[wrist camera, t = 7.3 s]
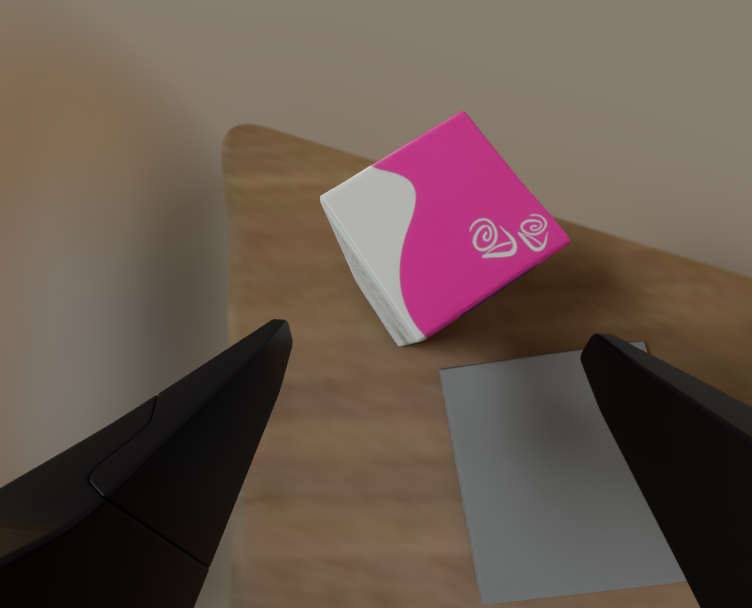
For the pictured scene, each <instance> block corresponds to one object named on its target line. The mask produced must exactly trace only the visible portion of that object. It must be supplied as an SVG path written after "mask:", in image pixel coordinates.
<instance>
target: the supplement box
mask: <svg viewBox="0 0 752 608" xmlns="http://www.w3.org/2000/svg"><path fill="white" fill-rule="evenodd" d="M320 201H321V204H322V207H323V209H324V211H325V213H326V215H327V218H328V220H329V222H330V224H331V226H332V229H333V231H334V233H335V235H336V238H337V240H338V242H339V244H340V247H341V249H342V251H343V253H344V256H345V258H346V260H347V263H348V265H349V267H350V269H351V272H352V274H353V276H354V278H355V280H356V282H357V284H358V286H359V287H360V289H361V290H362V292H363V294H364V295H365V297H366V298H367V300H368V301H369V303H370V305H371V306H372V308H373V309H374V311H375V312H376V314H377V315H378V317H379V318H380V320H381V322H382V323H383V325H384V326H385V328H386V329H387V331H388V332H389V334H390V335H391V337H392V338H393V340H394V341H395V343H396V344H397V346H405V345H409V344H413V343H418V342H421V341H424V340H426V339H427V338H429V337H430V336H432V335H434V334H435V333H437V332H438V331H440V330H441V329H443V328H444V327H446V326H447V325H449V324H450V323H452V322H454V321H455V320H457V319H458V318H460V317H461V316H463V315H464V314H466V313H467V312H469V311H470V310H472V309H473V308H475V307H476V306H478V305H479V304H481V303H482V302H484V301H485V300H487V299H488V298H490V297H491V296H493V295H494V294H496V293H497V292H499V291H500V290H502V289H503V288H505V287H506V286H508V285H509V284H511V283H512V282H514V281H515V280H517V279H518V278H520V277H521V276H522V275H524V274H525V273H527V272H528V271H530V270H531V269H533V268H534V267H536V266H537V265H539V264H540V263H542V262H543V261H545V260H546V259H548V258H549V257H551V256H552V255H554V254H555V253H557V252H558V251H560V250H561V249H563V248H564V247H566V246H567V245H568V244H569V243H570V241H571V240H570V239H569V237H568V236H567V235H566V233H565V232H564V231H563V229H562V228H561V227H560V226H559V225H558V223H557V222H556V221H555V220H554V219H553V217H552V216H551V215H550V214H549V213H548V211H547V210H546V209H545V208H544V207H543V206H542V205H541V203H540V202H539V201H538V200H537V199H536V198H535V197H534V196H533V195H532V194H531V192H530V191H529V190H528V189H527V188H526V186H525V185H524V184H523V183H522V182H521V181H520V180H519V178H518V177H517V176H516V175H515V173H513V171H512V170H511V168H510V167H509V166H508V165H507V163H506V162H505V161H504V160H503V158H502V157H501V156H500V155H499V154H498V152H497V151H496V150H495V149H494V147H493V146H492V145H491V143H490V142H489V141H488V140H487V139H486V137H485V136H484V135H483V134H482V132H481V131H480V130H479V128H478V127H477V126H476V125H475V123H474V122H473V121H472V120H471V118H470V117H469V116H468V115H467V114H466V112H464V111H461V112H459V113H458V114H456V115H454V116H452V117H451V118H449V119H447V120H446V121H444V122H442V123H441V124H439V125H437V126H435V127H434V128H432V129H430V130H429V131H427V132H425V133H424V134H422V135H421V136H419V137H417V138H415V139H414V140H412V141H410V142H409V143H407V144H405V145H403V146H402V147H400V148H399V149H397V150H395V151H394V152H392V153H391V154H389V155H387V156H386V157H384V158H383V159H381V160H379V161H377V162H376V163H374V164H373V165H371V166H369V167H368V168H366V169H364V170H363V171H361V172H359V173H358V174H356V175H355V176H353V177H351V178H350V179H348V180H347V181H345V182H343V183H342V184H340V185H338V186H337V187H335V188H333V189H332V190H330V191H328V192H326V193H325V194H323V195H321V196H320Z"/></svg>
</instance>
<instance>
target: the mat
mask: <svg viewBox="0 0 752 608" xmlns="http://www.w3.org/2000/svg"><path fill="white" fill-rule="evenodd" d="M629 343H630V344H632V345H634V346H635V347H637V348H639V349H641V350H643V351H645V352H647V349H646V346H645V343H644V341H643V342H629ZM582 351H583V349H579V350H572V351H565V352H558V353H551V354H544V355H537V356H530V357H522V358H515V359H508V360H501V361H494V362H487V363H480V364H473V365H466V366H459V367H452V368H445V369H439V374H440V379H441V385H442V390H443V396H444V402H445V407H446V413H447V418H448V424H449V429H450V435H451V441H452V446H453V452H454V457H455V463H456V468H457V474H458V480H459V485H460V491H461V496H462V502H463V507H464V513H465V519H466V524H467V530H468V535H469V541H470V546H471V552H472V558H473V563H474V569H475V574H476V580H477V585H478V591H479V594H480V597H481V600H482V603H483V605H486V604H495V603H503V602H512V601H521V600H530V599H538V598H547V597H556V596H565V595H573V594H582V593H591V592H600V591H608V590H617V589H626V588H635V587H643V586H652V585H661V584H670V583H678V582H687V580H686V578H685V577H684V575H683V573H682V571H681V569H680V567H679V565H678V563H677V561H676V559H675V557H674V555H673V553H672V551H671V549H670V547H669V545H668V543H667V541H666V539H665V537H664V535H663V533H662V532H661V530H660V528H659V526H658V524H657V522H656V520H655V518H654V516H653V514H652V512H651V510H650V508H649V506H648V504H647V502H646V500H645V498H644V496H643V494H642V492H641V490H640V489H639V487H638V485H637V483H636V481H635V479H634V477H633V475H632V473H631V471H630V469H629V467H628V465H627V463H626V461H625V459H624V457H623V455H622V453H621V451H620V449H619V447H618V445H617V444H616V442H615V440H614V438H613V436H612V434H611V432H610V430H609V428H608V426H607V424H606V422H605V420H604V418H603V416H602V414H601V412H600V410H599V407H598V405H597V402H596V400H595V397H594V395H593V392H592V390H591V387H590V384H589V382H588V379H587V377H586V374H585V371H584V369H583V366H582V364H581V360H580V356H581V353H582Z"/></svg>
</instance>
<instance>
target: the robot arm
mask: <svg viewBox="0 0 752 608" xmlns="http://www.w3.org/2000/svg"><path fill="white" fill-rule="evenodd" d="M291 349H292V336H291V332H290V328H289V324H288V322H287V321H286V320H280V319H273V320H271V321H270V322H268V323H266V324H265V325H263V326H262V327H260V328H259V329H257V330H256V331H254V332H253V333H251V334H250V335H248V336H246V337H245V338H243V339H242V340H240V341H239V342H237V343H236V344H234V345H233V346H231V347H229V348H228V349H227V350H225V351H223V352H222V353H220V354H219V355H217V356H216V357H214V358H213V359H211V360H209V361H208V362H207V363H205V364H203V365H202V366H200V367H199V368H197V369H196V370H194V371H192V372H191V373H189V374H188V375H186V376H185V377H183V378H182V379H181V380H179V381H177V382H176V383H174V384H172V385H171V386H169V387H168V388H166V389H165V390H163V391H162V392H160V393H159V394H158V396H154V397H152V398H151V399H149V400H148V401H146V402H145V403H143V404H141V405H140V406H138V407H137V408H135V409H134V410H132V411H130V412H129V413H127V414H126V415H124V416H122V417H121V418H119V419H118V420H116V421H114V422H113V423H111V424H110V425H108V426H106V427H104V428H103V429H101V430H99V431H98V432H96V433H94V434H93V435H92V436H89V437H88V438H86V439H84V440H82V441H81V442H79V443H77V444H76V445H74V446H72V447H70V448H69V449H67V450H65V451H63V452H62V453H60V454H58V455H56V456H55V457H53V458H51V459H50V460H48V461H46V462H44V463H43V464H41V465H39V466H37V467H36V468H34V469H32V470H30V471H29V472H27V473H25V474H24V475H22V476H20V477H18V478H17V479H15V480H13V481H11V482H10V483H8V484H6V485H5V486H3V487H1V488H0V608H194V606H195V603H196V601H197V598H198V596H199V593H200V591H201V588H202V586H203V583H204V581H205V578H206V576H207V573H208V571H209V567H210V565H211V563H212V560H213V558H214V555H215V553H216V550H217V548H218V545H219V543H220V540H221V538H222V535H223V533H224V530H225V528H226V525H227V523H228V520H229V518H230V515H231V513H232V510H233V508H234V505H235V503H236V500H237V498H238V495H239V493H240V490H241V488H242V485H243V483H244V480H245V478H246V475H247V472H248V470H249V467H250V465H251V462H252V460H253V457H254V455H255V452H256V450H257V447H258V445H259V442H260V440H261V437H262V435H263V432H264V430H265V427H266V425H267V422H268V420H269V417H270V415H271V412H272V410H273V407H274V405H275V402H276V400H277V397H278V394H279V392H280V389H281V385H282V382H283V378H284V375H285V371H286V367H287V363H288V360H289V356H290V352H291ZM580 360H581V364H582V366H583V369H584V371H585V374H586V377H587V379H588V382H589V384H590V387H591V390H592V392H593V395H594V397H595V400H596V402H597V405H598V407H599V410H600V412H601V414H602V416H603V418H604V420H605V422H606V424H607V426H608V428H609V430H610V432H611V434H612V436H613V438H614V440H615V442H616V444H617V445H618V447H619V449H620V451H621V453H622V455H623V457H624V459H625V461H626V463H627V465H628V467H629V469H630V471H631V473H632V475H633V477H634V479H635V481H636V483H637V485H638V487H639V489H640V490H641V492H642V494H643V496H644V498H645V500H646V502H647V504H648V506H649V508H650V510H651V512H652V514H653V516H654V518H655V520H656V522H657V524H658V526H659V528H660V530H661V532H662V533H663V535H664V537H665V539H666V541H667V543H668V545H669V547H670V549H671V551H672V553H673V555H674V557H675V559H676V561H677V563H678V565H679V567H680V569H681V571H682V573H683V575H684V577H685V578H686V580H687V582H688V584H689V586H690V588H691V590H692V592H693V594H694V596H695V598H696V600H697V602H698V604H699V606H700V608H752V407H751V406H749V405H747V404H745V403H743V402H741V401H739V400H737V399H735V398H734V397H732V396H730V395H728V394H726V393H724V392H722V391H720V390H718V389H716V388H714V387H712V386H710V385H709V384H707V383H705V382H703V381H701V380H699V379H697V378H695V377H693V376H691V375H689V374H687V373H685V372H684V371H682V370H680V369H678V368H676V367H674V366H672V365H670V364H668V363H666V362H664V361H662V360H660V359H659V358H657V357H655V356H653V355H651V354H649V353H647V352H645V351H643V350H641V349H639V348H637V347H635V346H634V345H632V344H630V343H628V342H626V341H624V340H622V339H620V338H618V337H616V336H614V335H611V334H594V335H593V336H592V337H591V338H590V340H589V341H588V343H587V345H586V346H585V348H584V349H583V351H582V353H581V356H580Z"/></svg>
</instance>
